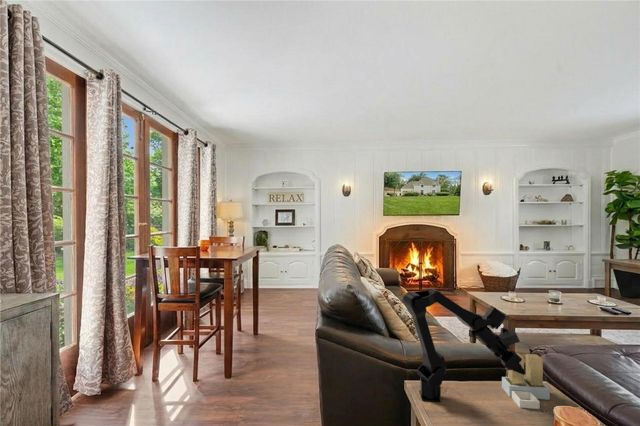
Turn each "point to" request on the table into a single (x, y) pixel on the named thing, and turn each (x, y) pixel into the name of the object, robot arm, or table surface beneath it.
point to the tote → (529, 403)
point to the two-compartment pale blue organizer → (526, 389)
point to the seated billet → (534, 370)
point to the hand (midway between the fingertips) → (519, 368)
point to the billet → (516, 375)
